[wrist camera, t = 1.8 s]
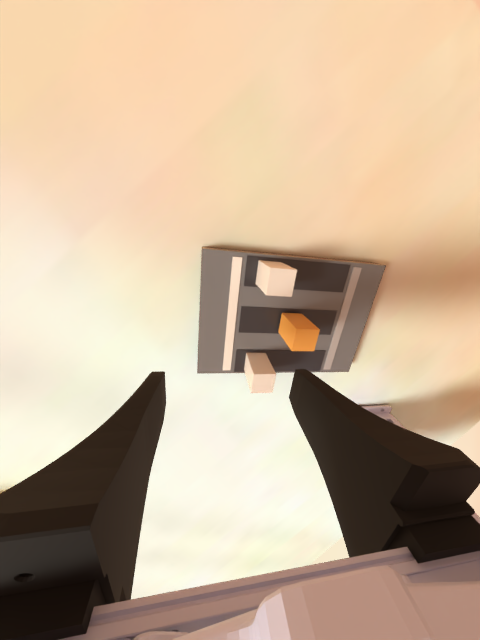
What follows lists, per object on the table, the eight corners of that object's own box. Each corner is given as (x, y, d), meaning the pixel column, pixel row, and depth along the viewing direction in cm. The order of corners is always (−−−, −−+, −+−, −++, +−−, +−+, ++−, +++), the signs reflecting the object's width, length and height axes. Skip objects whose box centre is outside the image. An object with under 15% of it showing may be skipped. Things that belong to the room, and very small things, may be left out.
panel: (375, 263, 22) (420, 273, 18) (341, 364, 27) (370, 393, 22) (202, 246, 19) (202, 254, 14) (197, 365, 23) (196, 399, 19)
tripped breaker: (302, 313, 21) (319, 329, 18) (297, 332, 22) (314, 351, 19) (281, 312, 21) (296, 329, 17) (278, 332, 21) (291, 351, 18)
